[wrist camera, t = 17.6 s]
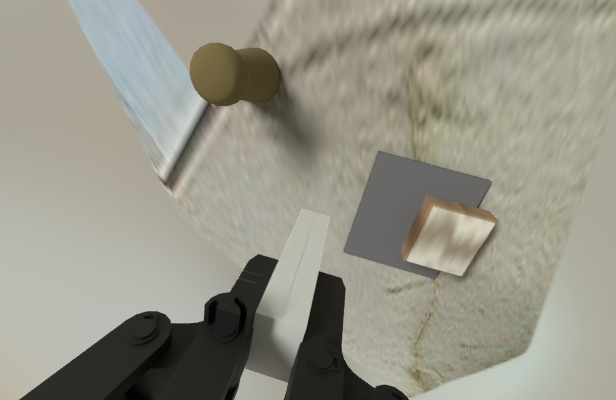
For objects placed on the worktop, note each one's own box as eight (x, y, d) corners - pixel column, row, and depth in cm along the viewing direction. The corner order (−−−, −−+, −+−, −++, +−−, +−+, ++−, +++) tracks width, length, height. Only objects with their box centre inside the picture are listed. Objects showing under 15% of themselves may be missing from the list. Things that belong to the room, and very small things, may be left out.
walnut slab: (432, 204, 31) (499, 222, 31) (426, 194, 34) (488, 211, 33) (403, 262, 35) (463, 279, 35) (400, 248, 38) (455, 264, 37)
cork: (248, 110, 34) (203, 124, 24) (223, 63, 32) (164, 58, 22) (288, 88, 32) (257, 93, 22) (264, 36, 30) (218, 18, 20)
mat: (378, 150, 33) (378, 152, 33) (489, 180, 32) (491, 181, 32) (343, 249, 41) (343, 252, 40) (433, 276, 40) (434, 278, 39)
